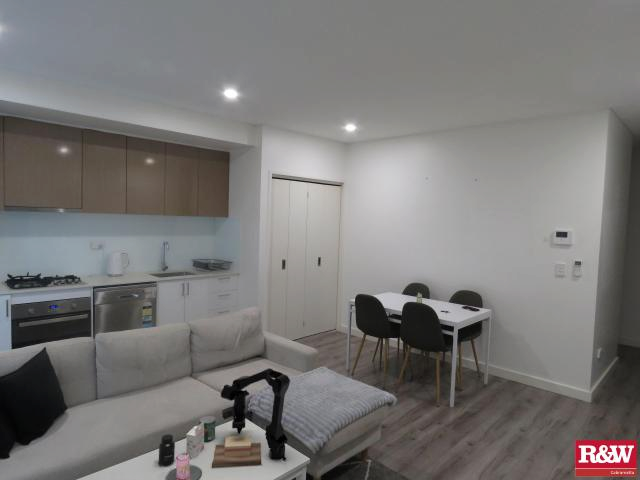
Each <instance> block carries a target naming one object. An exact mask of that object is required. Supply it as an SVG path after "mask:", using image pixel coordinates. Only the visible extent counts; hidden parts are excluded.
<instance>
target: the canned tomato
mask: <svg viewBox="0 0 640 480" xmlns="http://www.w3.org/2000/svg"><path fill="white" fill-rule="evenodd" d="M203 421H204V443H210V442H213V441H214V440H215V439H216V417H215V416H214V415H204V416H201V417H200V418H199V421H198V423H199V425H200V424H201V423H202V422H203ZM199 425H198V426H199ZM200 427H201V426H200Z"/></svg>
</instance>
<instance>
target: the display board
mask: <svg viewBox="0 0 640 480" xmlns="http://www.w3.org/2000/svg"><path fill="white" fill-rule="evenodd" d="M254 466H255V467H257V466H262V443H261V442H251V454H250V456H236V457H225V443H224V444H215V447H214V453H213V458H212V462H211V469H220V468H236V467H237V468H239V467H254Z"/></svg>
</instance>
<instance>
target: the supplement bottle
mask: <svg viewBox="0 0 640 480" xmlns="http://www.w3.org/2000/svg"><path fill="white" fill-rule="evenodd" d="M173 437H174V436H173V435H172V434H164V435H162V437H161V441H160V443H159V445H158V464H159V466H160V467H168V466H171V465H173V463H174V462H175V453H176V452H175V450H176V443H175V441H174V438H173Z"/></svg>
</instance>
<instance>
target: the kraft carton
mask: <svg viewBox="0 0 640 480" xmlns="http://www.w3.org/2000/svg"><path fill="white" fill-rule="evenodd" d="M251 443H252V435H234V436H232V435H231V436H230V435H229V436H225V443H224V444H225V457H236V456H250V454H251Z"/></svg>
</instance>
